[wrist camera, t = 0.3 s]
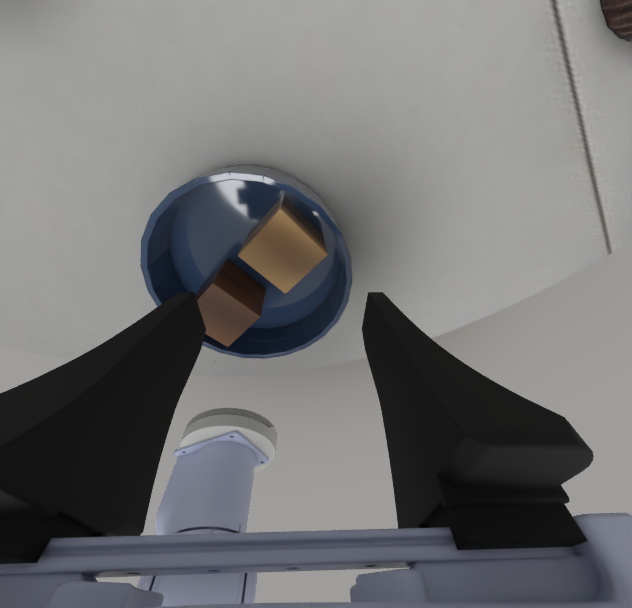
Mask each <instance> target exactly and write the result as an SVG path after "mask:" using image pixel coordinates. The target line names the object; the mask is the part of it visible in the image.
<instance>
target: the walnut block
mask: <svg viewBox="0 0 632 608" xmlns="http://www.w3.org/2000/svg"><path fill="white" fill-rule="evenodd" d="M265 294H266V289H265V288H264V287H263V286H262V285H260V284H259V283H258V282H256V281H255V280H254V279H252V278H251V277H250V276H249V275H247V274H246V273H245V272H243V271H242V270H241V269H240V268H238V267H237V266H236V265H234V264H233V263H232V262H231V261H229V260H228V259H226V260H225V261H224V262H223V263H222V265H221V266H220V267H219V268H218V269H217V270H216V271H215V272H214V274H213V275H212V276H211V277H210V278H209V279H208V280H207V281H206V283H205V284H204V285H203V286H202V287H201V288H200V289H199V290H198V292H197V294H196V295H195V296H196V299H197V302H198V305H199V308H200V311H201V315H202V318H203V321H204V324H205V327H206V332H205V334H207V335H209V336H210V337H212V338H213V339H215V340H217V341H218V342H220V343H222V344H223V345H225V346H227V347H228V346H230V345H231V344H232V343H233V342H234V341H235V340H236V339H237V338H238V337H239V336H240V335H241V334H243V333H244V332H245V331H246V330H247V329H248V328H249V327H250V326H251V325H252V324H253V323H255V322H256V321H257V320H258V319H259V318H260V317H261V313H262V308H263V303H264V299H265Z"/></svg>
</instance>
